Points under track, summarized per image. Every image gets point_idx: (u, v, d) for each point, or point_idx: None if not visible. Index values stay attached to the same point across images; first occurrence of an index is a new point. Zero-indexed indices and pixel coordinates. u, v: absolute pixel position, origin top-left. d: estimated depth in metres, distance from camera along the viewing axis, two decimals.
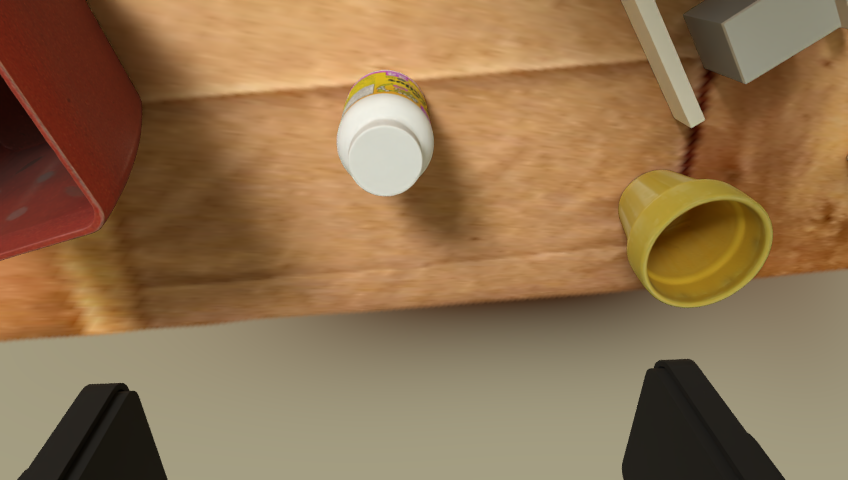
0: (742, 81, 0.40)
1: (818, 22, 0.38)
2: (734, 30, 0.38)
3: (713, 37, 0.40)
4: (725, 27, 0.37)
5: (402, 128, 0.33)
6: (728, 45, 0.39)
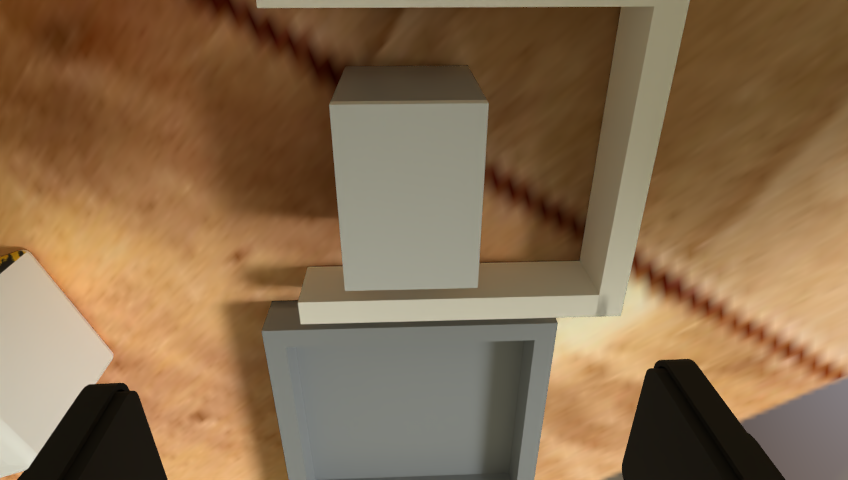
0: (335, 101, 0.17)
1: (375, 259, 0.20)
2: (461, 118, 0.17)
3: (438, 87, 0.19)
4: (480, 104, 0.17)
5: None
6: (431, 99, 0.17)
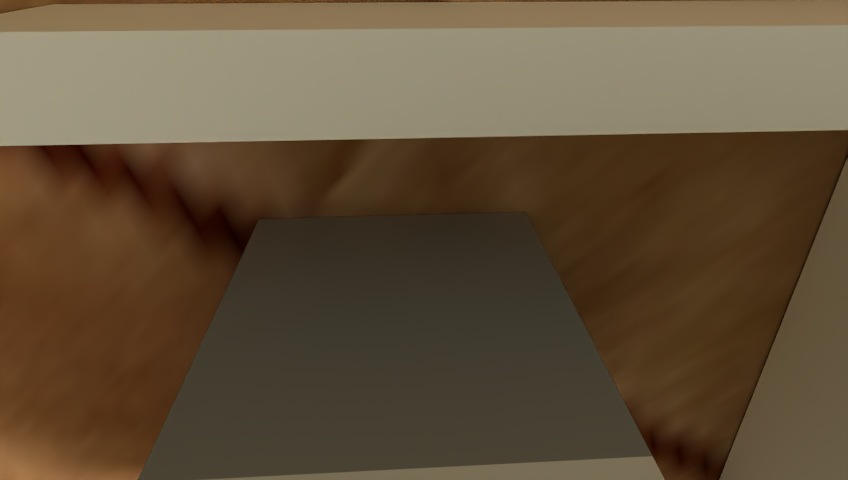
0: None
1: None
2: None
3: (480, 344, 0.07)
4: None
5: None
6: (471, 455, 0.05)
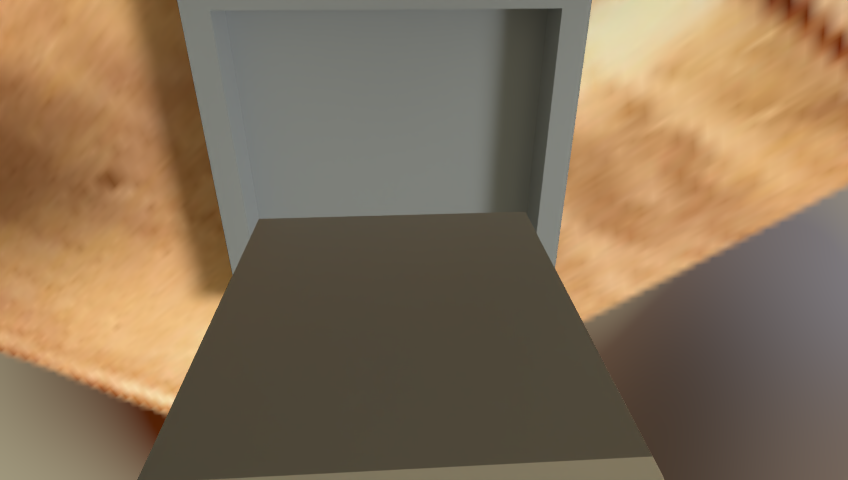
0: None
1: None
2: None
3: (480, 343, 0.07)
4: None
5: None
6: (471, 454, 0.05)
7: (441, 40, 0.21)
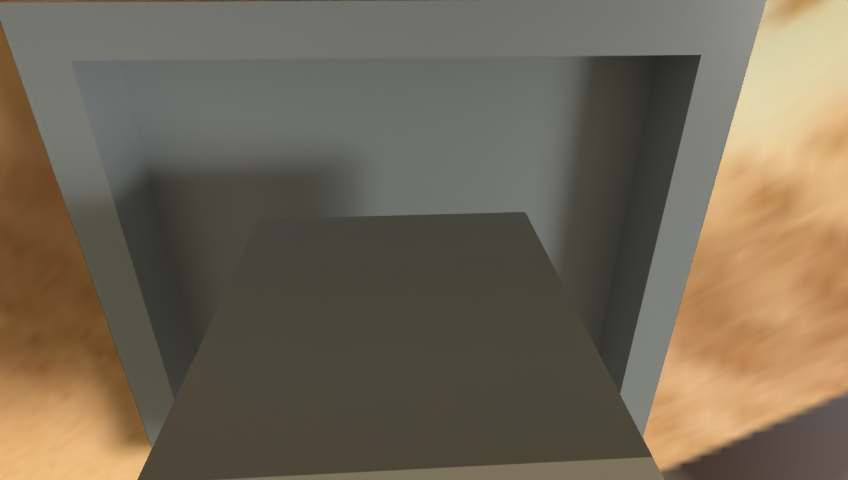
0: None
1: None
2: None
3: (479, 344, 0.07)
4: None
5: None
6: (471, 455, 0.05)
7: (480, 99, 0.13)
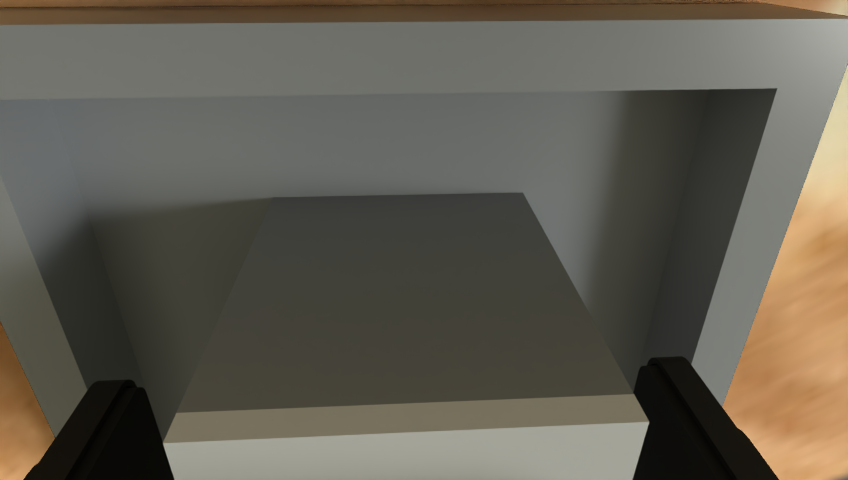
0: (189, 413, 0.06)
1: None
2: (564, 456, 0.06)
3: (480, 303, 0.08)
4: (622, 423, 0.06)
5: None
6: (473, 392, 0.06)
7: (494, 137, 0.10)
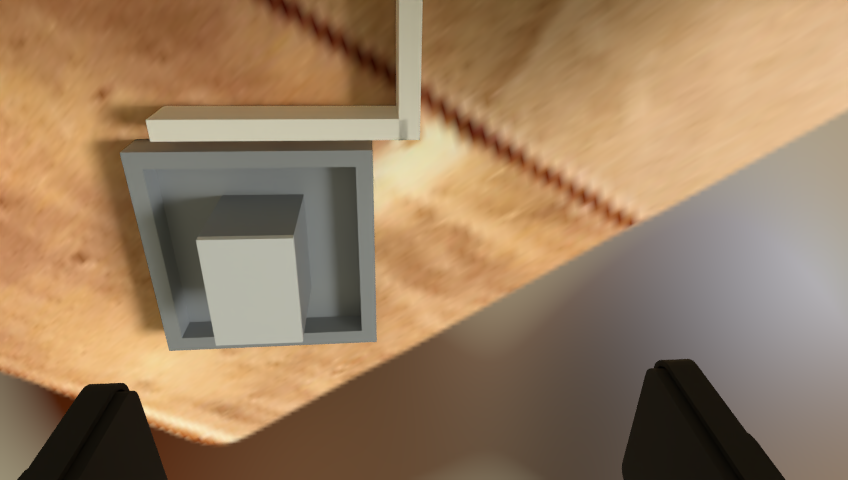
0: (200, 236, 0.29)
1: (234, 326, 0.31)
2: (277, 246, 0.29)
3: (271, 220, 0.31)
4: (287, 238, 0.29)
5: None
6: (260, 234, 0.29)
7: (291, 177, 0.33)
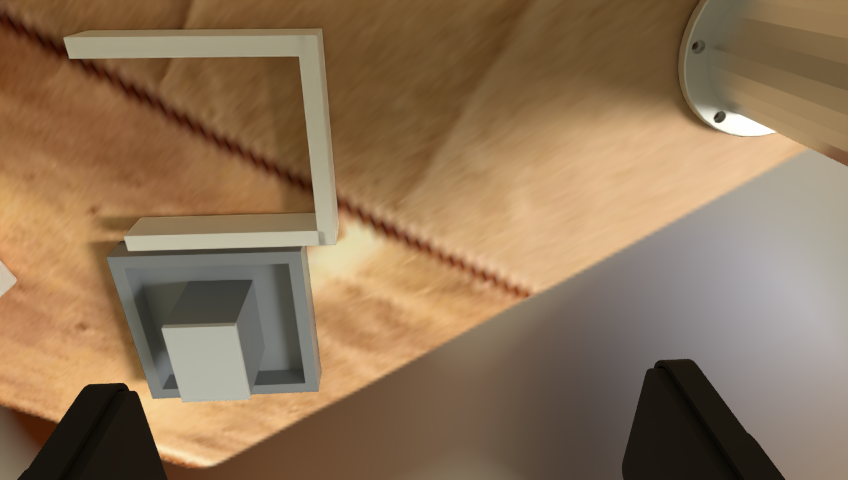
0: (165, 325, 0.38)
1: (195, 388, 0.40)
2: (223, 331, 0.38)
3: (221, 308, 0.40)
4: (230, 326, 0.38)
5: None
6: (210, 322, 0.38)
7: (242, 267, 0.42)
